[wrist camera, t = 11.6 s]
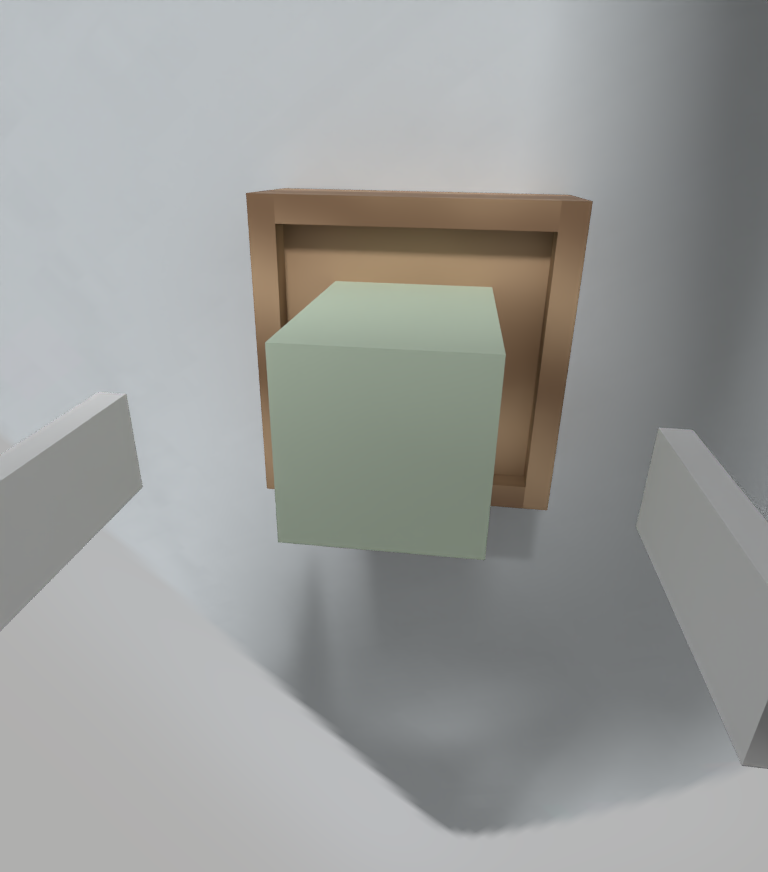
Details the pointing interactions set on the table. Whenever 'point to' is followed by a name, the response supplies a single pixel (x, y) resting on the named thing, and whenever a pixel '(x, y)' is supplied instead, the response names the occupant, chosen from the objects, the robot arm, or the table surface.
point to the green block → (387, 418)
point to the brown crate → (440, 265)
